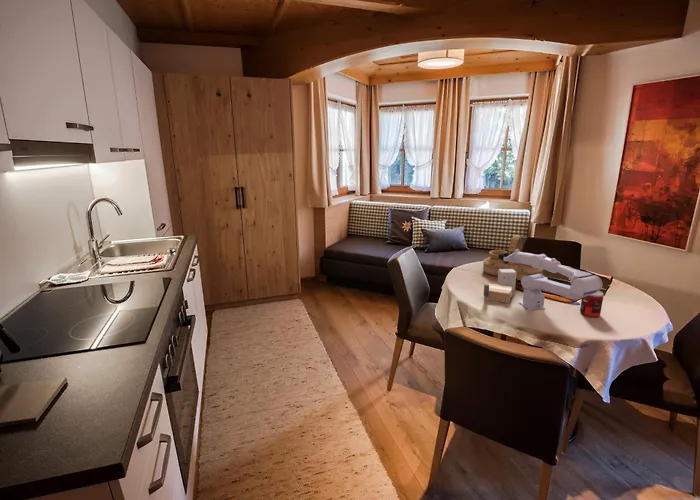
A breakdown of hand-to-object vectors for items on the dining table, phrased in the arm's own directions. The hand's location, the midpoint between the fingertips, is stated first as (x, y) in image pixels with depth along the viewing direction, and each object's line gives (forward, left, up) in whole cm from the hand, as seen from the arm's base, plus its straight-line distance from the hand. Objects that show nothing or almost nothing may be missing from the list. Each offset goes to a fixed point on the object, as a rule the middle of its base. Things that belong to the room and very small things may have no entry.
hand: (505, 255), depth 191 cm
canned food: (-34, -23, -20) cm, 46 cm away
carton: (-8, +7, -20) cm, 23 cm away
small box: (+2, -3, -20) cm, 21 cm away
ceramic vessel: (+20, -18, -21) cm, 34 cm away
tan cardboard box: (-14, +12, -20) cm, 27 cm away
